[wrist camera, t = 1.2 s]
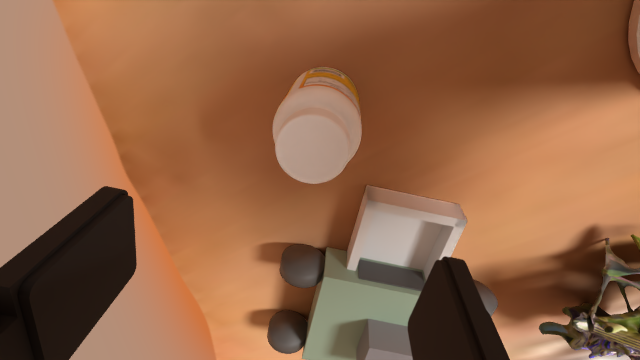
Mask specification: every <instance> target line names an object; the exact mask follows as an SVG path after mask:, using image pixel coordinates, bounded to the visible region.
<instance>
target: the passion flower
mask: <svg viewBox="0 0 640 360" xmlns="http://www.w3.org/2000/svg"><path fill="white" fill-rule="evenodd" d="M631 237H632V238H633V240H634V242H635V243H636V245H637V247H638V249H639V250H640V238H638V237H636V236H635V235H631ZM605 241H606V246H605V249H606V265H605V267H604V268H603V269H602V270H601V274H602V276H603V283H602V285H601V287H600V289H599V292H598V295H597V298H596V300H595V302H594V304H588V303H583V304H582V305H581V306H580V307H579V306H575V307H565V308H563V309H562V311H563V313H564V314H566V315H568V316H569V317H570V318H571V320H570V322H569V324H568V325H561V324H558V323H554V322H545V323H542V324H541V325H540V326H539V329H540V331H541V333H542V334H553V335H560V336H561V337H563V339H564V340H566V341H567V343H568V344H569V345H570V347H571V348H572V349H574V350H580V349H587V350H591V351H592V353H591V354H590V355H589V358H594V357H597V356H610V355H615V354H617V357H620V356H622V355H624V354H626V355H627V356H629V357H630V358H631V360H640V306H639V307H638V308H636V309H635V310H634V311H633V310H632V309H631V308H630V305H629V302H628V300H627V297H626V293H625V289H624V288H625V287H626V286H633V287H635V288H637V289H639V290H640V282H633V281H629V280H627V279H624V278H622V277H621V276H624V275H630V274H640V268H638V269H631V268H630V267H628V266H627V265H626V263H625V262H624V261H623V260H622V259H620V258H618V257H617V256H616V255H615V254H614V253H613V252H612V250H611V248H610V246H609V238H606V239H605ZM609 281H616V282H617V284H618V286H619V288H620V290H621V293H622V295H623V297H624V299H625V301H626V304H627V309H628V312H626V313H623V314H614V315H609V314H608V313H607V312H605V311H604V310H603V309H601V308H600V307H599V306H598V305H599V303H600V301H601V299H602V294H603V291H604V290H605V288H606V286H607V284H608V282H609Z"/></svg>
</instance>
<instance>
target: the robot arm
mask: <svg viewBox="0 0 640 360" xmlns="http://www.w3.org/2000/svg"><path fill="white" fill-rule="evenodd" d="M628 43H629V49H630V54H631V59H632V61H633V63H634V65H635V67H636V69H637V71H638V73H639V74H640V0H634V3H633V7H632V12H631V16H630V20H629V33H628ZM135 247H136V246H135V228H134V209H133V199H132V197H131V196H128V193H127V191H125V190H122V189H117V188H112V187H108V186H105V187H103V188H101V189H100V190H98V191H97V192H96V193H95V194H93V195H92V196H91V197H89V198H88V199H87V200H86V201H85V202H83V203H82V204H81V205H79V206H78V207H77V208H76V209H74V210H73V211H72V212H71V213H69V214H68V215H67V216H65V217H64V218H63V219H62V220H61V221H59V222H58V223H57V224H55V225H54V226H53V227H52V228H50V229H49V230H48V231H46V232H45V233H44V234H43V235H41V236H40V237H39V238H38V239H36V240H35V241H34V242H33V243H31V244H30V245H29V246H27V247H26V248H25V249H24V250H22V251H21V252H20V253H18V254H17V255H16V256H15V257H13V258H12V259H11V260H10V261H8V262H7V263H6V264H5V265H3V266H2V267H1V268H0V360H69V359H70V357H71V356H72V355H73V354H74V352H75V351H76V350H77V348H78V347H79V346H80V344H81V343H82V342H83V340H84V339H85V338H86V336H87V335H88V334H89V333H90V331H91V330H92V329H93V327H94V326H95V324H96V323H97V322H98V320H99V319H100V318H101V317H102V315H103V314H104V313H105V312H106V310H107V309H108V308H109V306H110V305H111V304H112V302H113V301H114V300H115V298H116V297H117V296H118V294H119V293H120V292H121V290H122V289H123V288H124V286H125V285H126V284H127V283H128V281H129V280H130V279H131V277H132V276H133V274H134V272H135V269H136V248H135ZM408 336H409V341H410V347H411V352H412V358H413V360H510V359H509V357H508V354H507V352H506V350H505V348H504V345H503V343H502V341H501V339H500V336H499V334H498V332H497V330H496V327H495V325H494V323H493V321H492V318H491V316H490V314H489V313H488V311H487V310H486V308H485V306H484V303H483V301H482V299H481V297H480V294H479V292H478V290H477V288H476V285H475V283H474V281H473V278H472V276H471V274H470V272H469V269H468V267H467V265H466V263H465V261H464V260H461V259H457V258H452V257H447V256H444V257H443V258H442V259H441V260H436V261H435V263H434V265H433V267H432V269H431V272H430V274H429V276H428V278H427V280H426V283H425V285H424V287H423V289H422V291H421V293H420V296H419V298H418V300H417V302H416V304H415V307H414V309H413V311H412V313H411V315H410V317H409V320H408Z"/></svg>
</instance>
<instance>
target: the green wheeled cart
mask: <svg viewBox="0 0 640 360" xmlns="http://www.w3.org/2000/svg"><path fill="white" fill-rule="evenodd" d="M466 223H467V219H466V217H465V215H464V213H463V211H462V209H461V207H460V205H459V204H455V203H450V202H446V201H441V200H436V199H431V198H427V197H422V196H417V195H412V194H408V193H403V192H398V191H393V190H389V189H384V188H379V187H374V186H370V185H366V189H365V192H364V195H363V199H362V202H361V206H360V209H359V212H358V216H357V219H356V222H355V226H354V229H353V233H352V236H351V239H350V243H349V246H348V249H347V251H344V250H339V249H334V248H330V247H327V248H326V252H325V256H324V255H323V254H322V253H321V252H320V251H319V250H318V249H316V248H314V247H312V246H309V245H304V244H297V245H292V246H290V247H288V248H286V249H285V250H284V252H283V254H282V259H281V264H280V274H281V276H282V278H283V279H284V280H285V281H286V282H288V283H289V284H291V285H293V286H296V287H301V288H309V287H313V286H315V285H317V287H316V291H315V294H314V298H313V302H312V306H311V310H310V314H309V317H308V321H306V320H305V318H304V317H303V316H302V315H300V314H299V313H297V312H294V311H290V310H285V311H280V312H278V313H276V314H275V315H274V316H273V317H272V318H271V320H270V323H269V328H268V334H267V338H268V342H269V344H270V345H271V346H272V347H273V348H274V349H275V350H276V351H278V352H281V353H285V354H291V353H295V352H297V351H299V350H300V349H301V348H302V347H303V346H304V348H303V355H302V359H306V360H413V358H412V352H411V347H410V341H409V336H408V320H409V317H410V315H411V313H412V311H413V309H414V307H415V304H416V302H417V300H418V298H419V296H420V293H421V291H422V289H423V287H424V285H425V283H426V280H427V278H428V276H429V274H430V272H431V269H432V267H433V265H434V263H435V261H436V260H441V259H442V258H443V257H444V256H447V257H451V255H452V252H453V250H454V248H455V246H456V244H457V242H458V240H459V238H460V236H461V234H462V231H463V229H464V227H465V225H466ZM473 281H474V283H475V285H476V288H477V290H478V292H479V294H480V297H481V299H482V301H483V303H484V306H485V308H486V310H487V311H488V313H489V314H490V316H492V315H493V313H494V311H495V310H496V308H497V306H498V302H497V299H496V297H495V295H494V294H493V292H492V291H491V290H490V289H489V288H487V287H486V286H485V285H483V284H482V283H480V282H478V281H476V280H473Z"/></svg>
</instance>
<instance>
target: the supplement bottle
mask: <svg viewBox="0 0 640 360" xmlns="http://www.w3.org/2000/svg"><path fill="white" fill-rule="evenodd" d="M361 136H362V123H361V114H360V103H359V96H358V92H357V90H356V87H355V85H354V84H353V82H352V81H351V79H350V78H349V77H348V76H347V75H345V74H344V73H342V72H341V71H339V70H336V69H334V68H330V67H317V68H313V69H310V70H308V71H306V72H304V73H303V74H302V75H300V76H299V77H298V78H297V79H296V81H295V82H294V83H293V85H292V86H291V88H290V90H289V91H288V93H287V95H286V96H285V98H284V99H283V101H282V102H281V104H280V106H279V107H278V109H277V112H276V114H275V117H274V121H273V139H274V142H275V152H276V157H277V160H278V162H279V164H280V166H281V168H282V169H283V170H284V171H285V172H286V173H287V174H288V175H289V176H291V177H292V178H294V179H296V180H298V181H300V182H304V183H309V184H319V183H324V182H327V181H329V180H332V179H333V178H335V177H336V176H338V175H339V174H340V173H341V172H342V171H343V169H344V168H345V166H346V164H347V163H348V162H349V161H350V160H351V159H352V158H353V156H354V155H355V153H356V152H357V150H358V148H359V145H360V142H361Z"/></svg>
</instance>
